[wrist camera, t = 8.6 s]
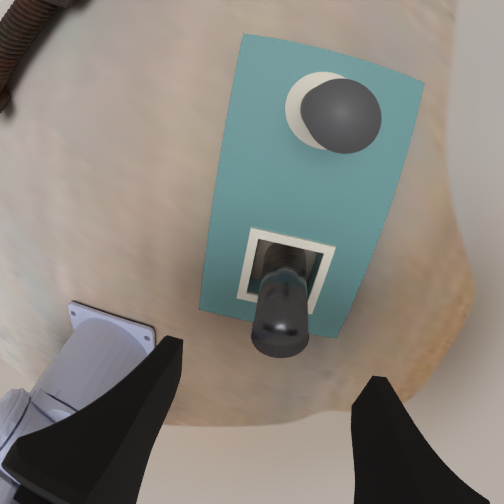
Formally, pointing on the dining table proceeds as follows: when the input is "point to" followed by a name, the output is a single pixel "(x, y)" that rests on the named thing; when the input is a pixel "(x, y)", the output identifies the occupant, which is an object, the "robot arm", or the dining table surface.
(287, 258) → the pin
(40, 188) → the dining table surface
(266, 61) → the pin board
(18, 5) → the bolt
